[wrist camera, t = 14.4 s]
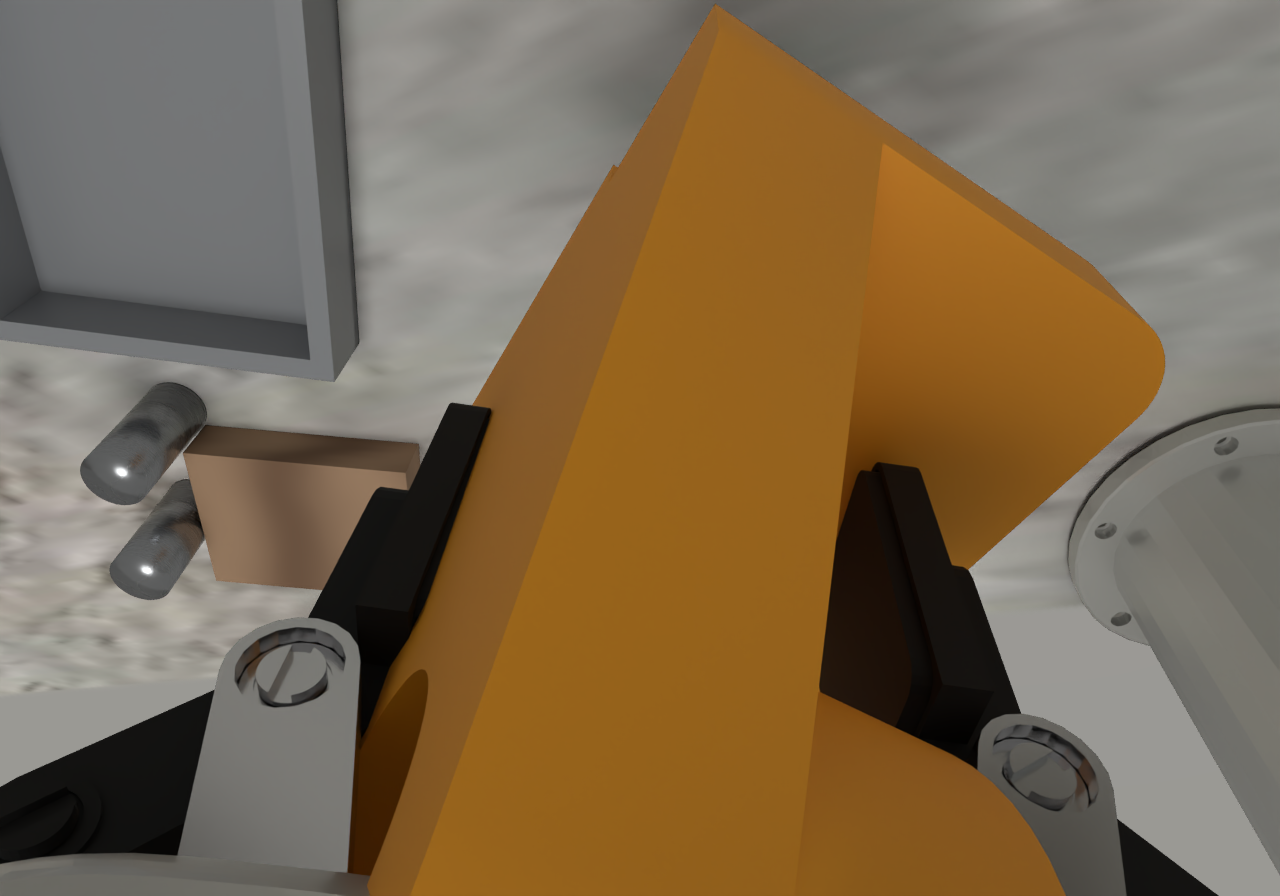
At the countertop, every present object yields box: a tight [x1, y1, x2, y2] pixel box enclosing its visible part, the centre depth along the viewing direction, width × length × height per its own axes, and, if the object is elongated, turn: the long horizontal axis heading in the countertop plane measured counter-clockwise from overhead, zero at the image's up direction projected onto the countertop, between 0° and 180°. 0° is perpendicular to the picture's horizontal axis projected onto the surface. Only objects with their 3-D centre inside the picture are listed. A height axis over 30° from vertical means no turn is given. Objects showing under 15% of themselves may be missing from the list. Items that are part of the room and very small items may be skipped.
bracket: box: [353, 4, 1165, 896], centre depth 10 cm, size 11×7×12 cm, turn 149°
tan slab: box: [183, 425, 420, 590], centre depth 39 cm, size 9×7×2 cm
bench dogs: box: [80, 383, 207, 600], centre depth 37 cm, size 2×7×5 cm, turn 173°
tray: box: [0, 0, 359, 382], centre depth 29 cm, size 13×17×3 cm
